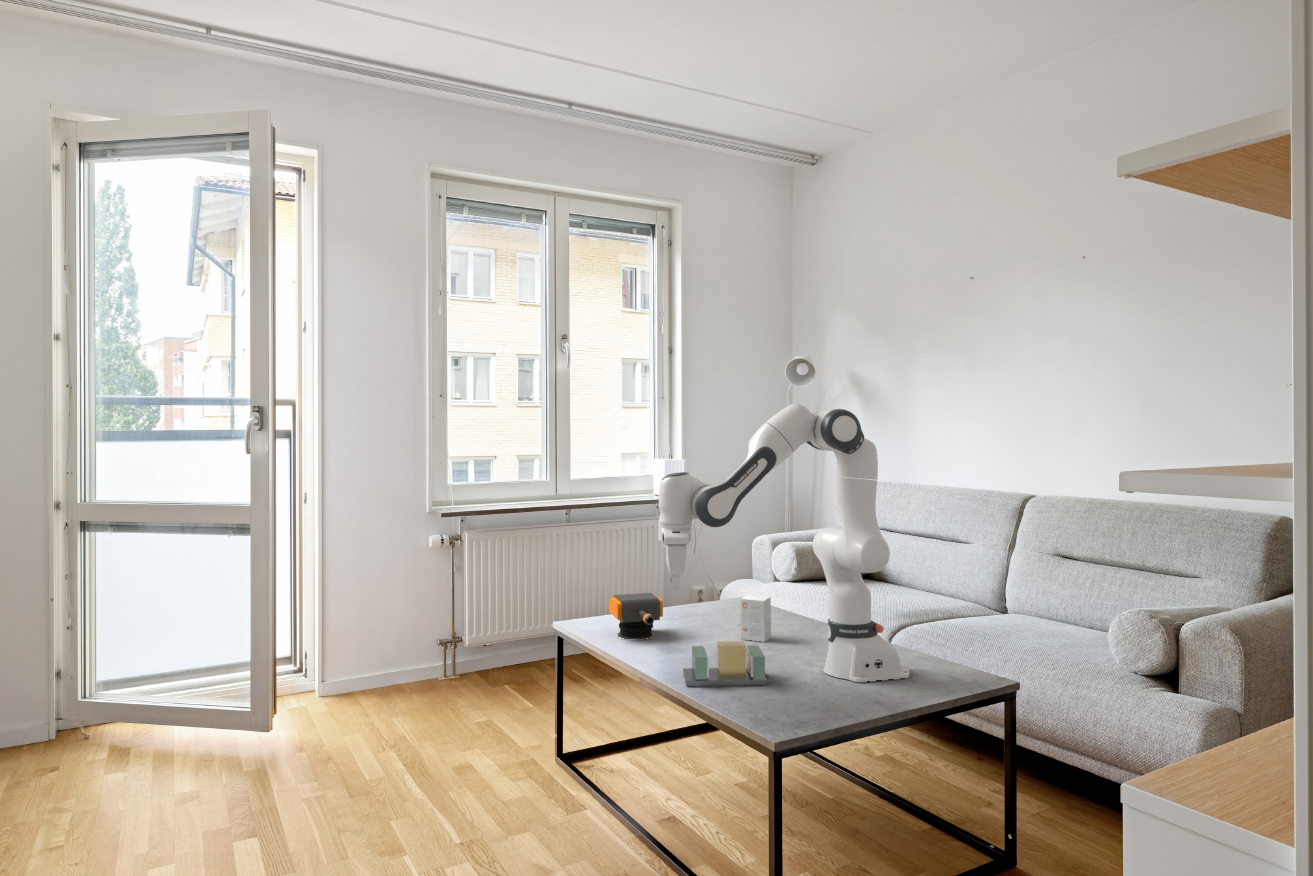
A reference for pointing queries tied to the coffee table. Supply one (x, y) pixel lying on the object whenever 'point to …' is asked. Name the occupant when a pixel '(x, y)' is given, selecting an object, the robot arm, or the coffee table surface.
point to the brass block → (731, 658)
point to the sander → (636, 614)
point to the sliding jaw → (700, 662)
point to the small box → (755, 618)
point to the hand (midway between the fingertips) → (674, 586)
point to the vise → (753, 676)
